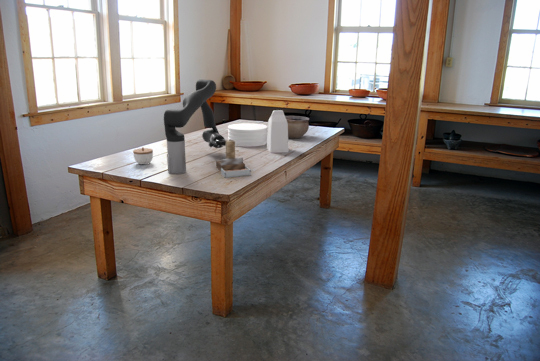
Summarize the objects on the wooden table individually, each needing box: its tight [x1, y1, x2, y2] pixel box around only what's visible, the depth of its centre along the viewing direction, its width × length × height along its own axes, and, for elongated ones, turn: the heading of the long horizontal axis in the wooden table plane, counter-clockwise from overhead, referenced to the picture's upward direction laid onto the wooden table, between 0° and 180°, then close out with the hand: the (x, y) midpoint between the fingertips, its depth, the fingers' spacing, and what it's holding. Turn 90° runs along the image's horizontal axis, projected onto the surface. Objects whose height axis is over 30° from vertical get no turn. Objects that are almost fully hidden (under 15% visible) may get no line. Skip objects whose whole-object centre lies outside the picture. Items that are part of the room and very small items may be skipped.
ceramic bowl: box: [285, 115, 310, 139], centre depth 322 cm, size 22×22×15 cm
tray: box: [220, 165, 252, 178], centre depth 227 cm, size 14×8×3 cm, turn 111°
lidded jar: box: [132, 146, 154, 165], centre depth 246 cm, size 11×11×9 cm
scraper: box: [220, 139, 244, 165], centre depth 232 cm, size 12×6×12 cm, turn 111°
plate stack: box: [227, 122, 268, 148], centre depth 304 cm, size 28×28×12 cm
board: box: [215, 160, 246, 173], centre depth 236 cm, size 13×12×4 cm
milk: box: [266, 109, 289, 154], centre depth 278 cm, size 12×12×26 cm
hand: (224, 145), depth 244 cm, fingers open, 8 cm apart
